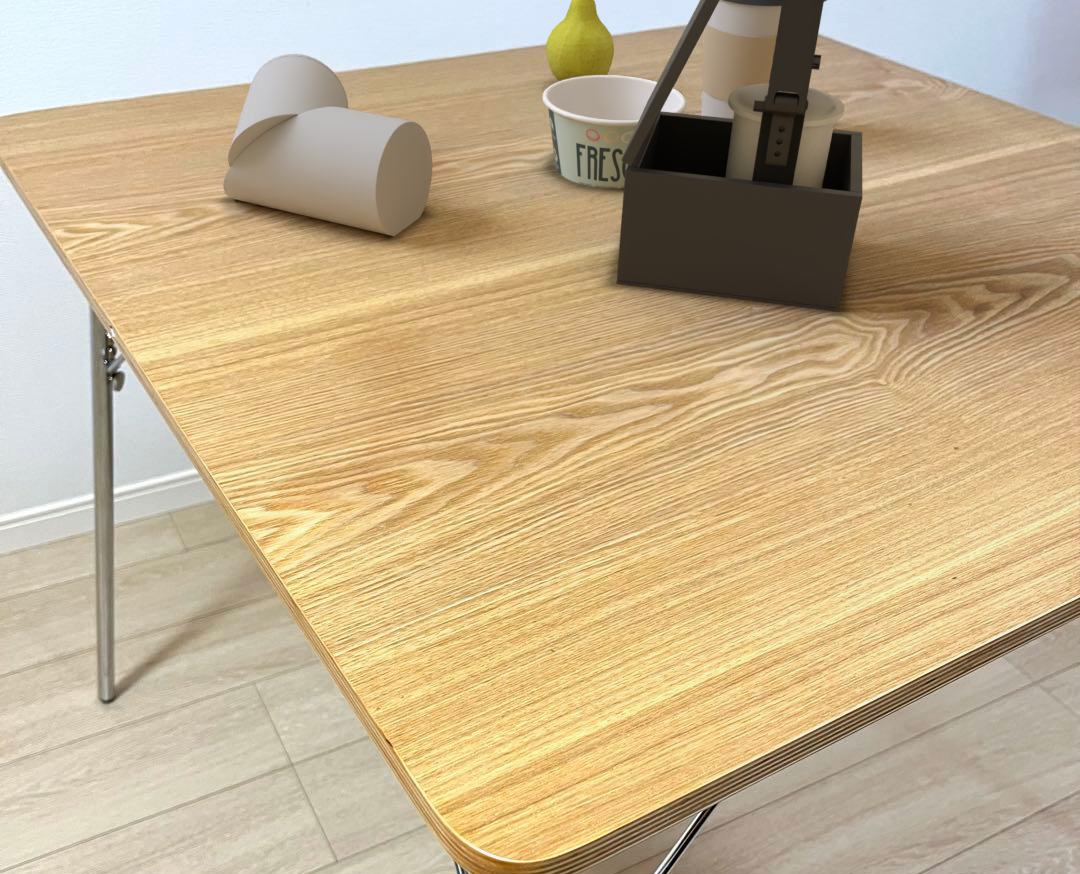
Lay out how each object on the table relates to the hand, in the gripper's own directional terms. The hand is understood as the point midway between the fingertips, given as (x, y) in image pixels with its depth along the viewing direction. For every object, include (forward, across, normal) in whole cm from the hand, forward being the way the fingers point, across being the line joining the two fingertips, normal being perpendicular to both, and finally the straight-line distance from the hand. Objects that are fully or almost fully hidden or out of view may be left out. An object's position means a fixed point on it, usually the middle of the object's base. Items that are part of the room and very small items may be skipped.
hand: (771, 183), depth 81 cm
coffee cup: (+7, -28, -4) cm, 30 cm away
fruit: (+7, -38, -21) cm, 43 cm away
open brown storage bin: (+7, 0, -2) cm, 7 cm away
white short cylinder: (0, 0, 0) cm, 0 cm away
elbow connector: (+7, -4, -36) cm, 37 cm away
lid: (-10, 0, -6) cm, 12 cm away
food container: (+7, -16, -14) cm, 22 cm away
